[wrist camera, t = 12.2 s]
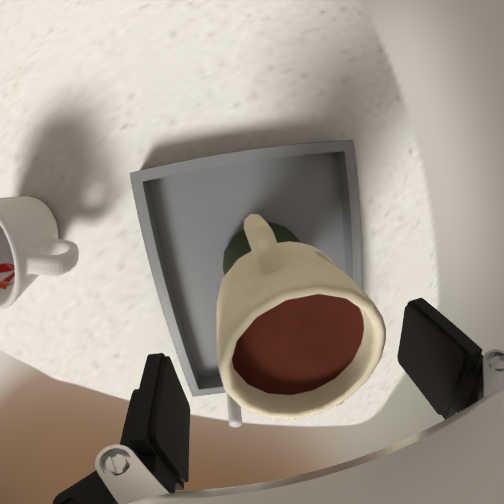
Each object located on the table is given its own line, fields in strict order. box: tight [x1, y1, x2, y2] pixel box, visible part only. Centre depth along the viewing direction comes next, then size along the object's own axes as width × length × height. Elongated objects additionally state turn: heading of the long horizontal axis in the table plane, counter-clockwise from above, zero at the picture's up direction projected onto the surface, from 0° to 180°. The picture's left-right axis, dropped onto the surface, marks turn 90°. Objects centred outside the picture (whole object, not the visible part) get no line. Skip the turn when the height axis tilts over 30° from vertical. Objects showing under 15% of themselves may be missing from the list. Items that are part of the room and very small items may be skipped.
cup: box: [0, 196, 79, 309], centre depth 18 cm, size 11×8×8 cm
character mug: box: [217, 214, 386, 419], centre depth 17 cm, size 11×7×13 cm, turn 19°
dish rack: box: [130, 140, 362, 427], centre depth 21 cm, size 20×16×8 cm
